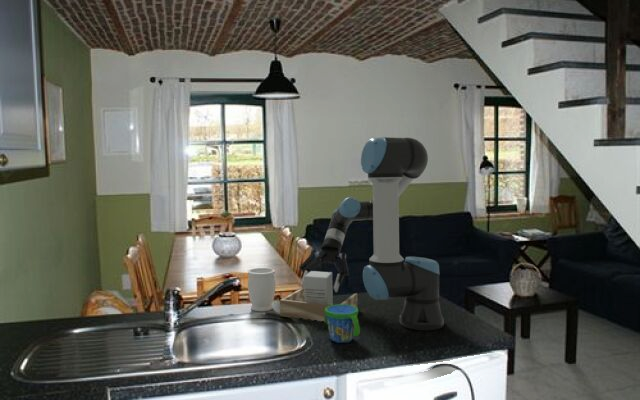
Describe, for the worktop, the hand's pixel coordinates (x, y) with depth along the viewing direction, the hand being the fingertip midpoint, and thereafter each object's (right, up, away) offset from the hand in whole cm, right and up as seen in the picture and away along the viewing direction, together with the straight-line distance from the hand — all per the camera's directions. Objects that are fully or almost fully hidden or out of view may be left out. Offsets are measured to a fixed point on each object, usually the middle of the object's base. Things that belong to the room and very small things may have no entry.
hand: (318, 288), depth 194 cm
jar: (-22, -9, +5) cm, 24 cm away
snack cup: (+8, -12, -29) cm, 32 cm away
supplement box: (0, -9, -1) cm, 9 cm away
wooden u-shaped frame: (0, -9, -1) cm, 9 cm away
